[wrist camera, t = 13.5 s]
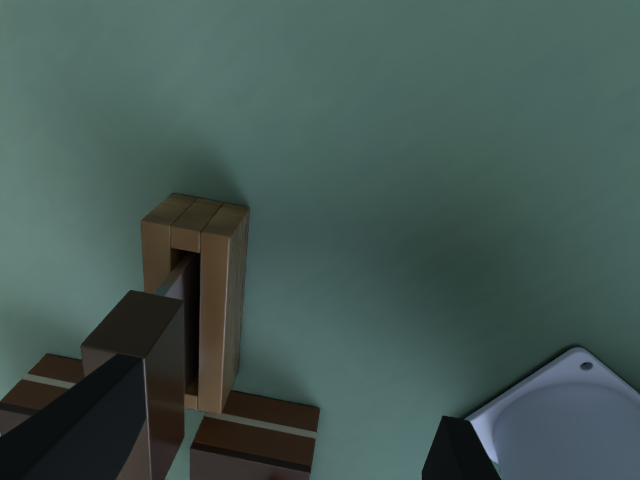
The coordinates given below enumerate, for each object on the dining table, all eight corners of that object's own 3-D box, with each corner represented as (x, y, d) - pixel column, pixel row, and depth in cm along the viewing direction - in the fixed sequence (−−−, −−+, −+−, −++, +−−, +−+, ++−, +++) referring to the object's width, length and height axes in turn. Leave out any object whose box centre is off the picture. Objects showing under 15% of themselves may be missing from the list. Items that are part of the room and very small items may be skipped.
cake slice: (121, 368, 25) (65, 444, 21) (129, 458, 29) (83, 540, 25) (46, 353, 26) (-26, 426, 21) (63, 444, 29) (6, 522, 25)
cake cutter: (231, 231, 20) (144, 358, 13) (225, 349, 24) (153, 505, 16) (189, 223, 21) (78, 345, 13) (188, 342, 24) (100, 493, 16)
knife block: (250, 206, 20) (230, 237, 17) (238, 371, 24) (221, 415, 22) (172, 192, 20) (139, 220, 17) (174, 359, 25) (149, 401, 22)
